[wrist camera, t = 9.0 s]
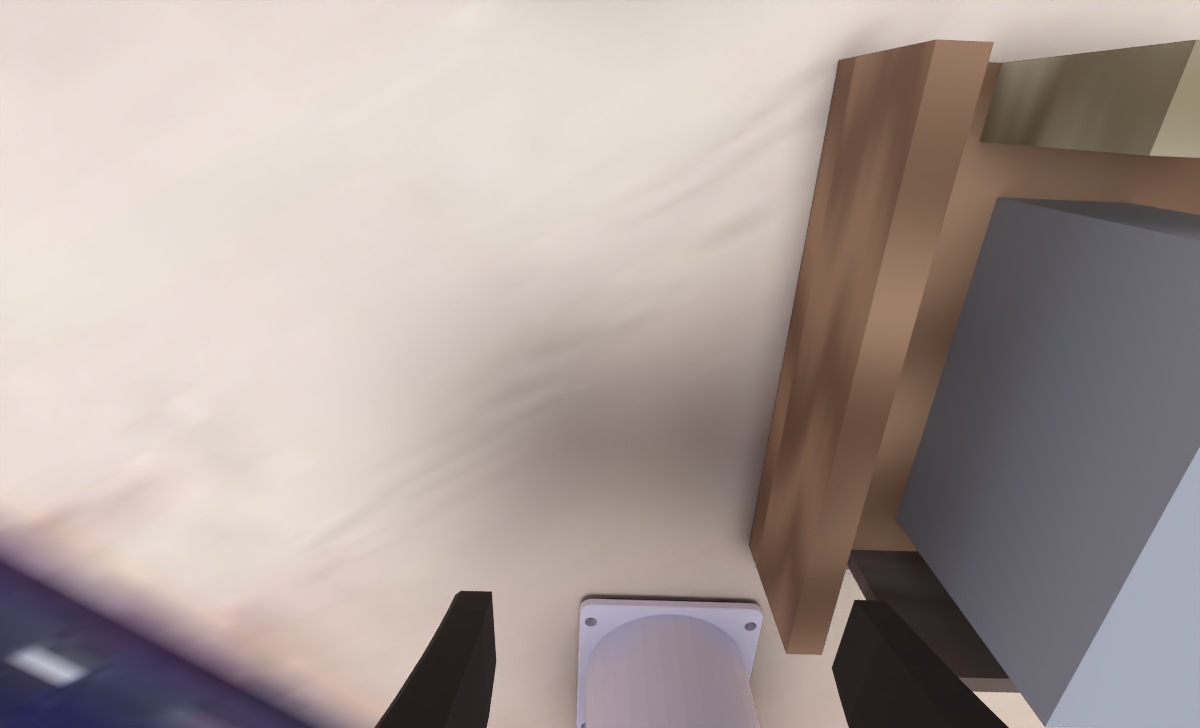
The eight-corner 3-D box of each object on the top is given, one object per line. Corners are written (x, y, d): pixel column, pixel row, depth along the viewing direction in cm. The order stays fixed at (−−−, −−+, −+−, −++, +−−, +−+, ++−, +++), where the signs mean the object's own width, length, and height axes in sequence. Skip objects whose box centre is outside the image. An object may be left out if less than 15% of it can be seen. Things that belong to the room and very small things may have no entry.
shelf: (1077, 555, 24) (1241, 707, 18) (748, 545, 24) (800, 695, 18) (1311, 80, 17) (1723, 63, 11) (839, 60, 16) (980, 29, 10)
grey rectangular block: (1129, 202, 17) (1530, 272, 10) (998, 523, 22) (1199, 731, 15) (997, 197, 17) (1301, 263, 10) (895, 520, 22) (1044, 726, 14)
